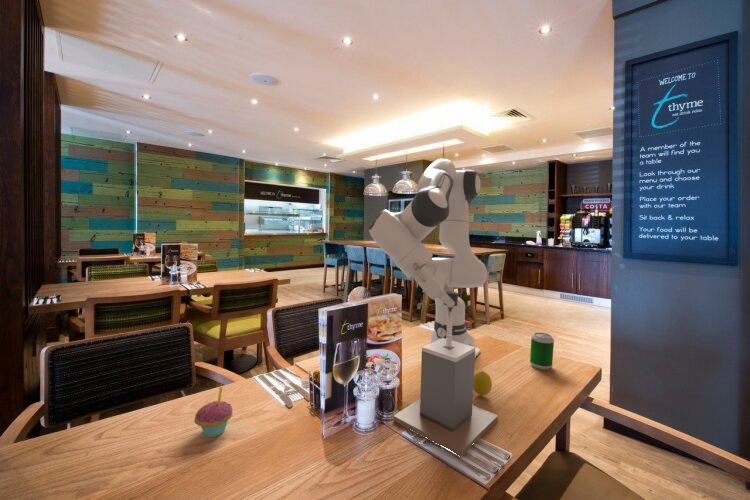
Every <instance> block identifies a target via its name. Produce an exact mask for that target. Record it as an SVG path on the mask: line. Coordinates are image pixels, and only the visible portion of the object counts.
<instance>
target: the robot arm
mask: <svg viewBox="0 0 750 500" xmlns="http://www.w3.org/2000/svg"><path fill="white" fill-rule="evenodd" d="M456 169H457V168H456V165H454V163H453V162H452V161H451V160H449V159H446V158H439V159H436V160H435V161H433V162H431V163H430V165H429V166H427V167H426V168H425V170H424V172H423V173H422V175H421V176H420V178H419V179H418V182H417V189H416V190H417V193H416V194H415V195H414V197H413V199H412V200H411V201H410V202H409V203H408V205H406V207H405V208H404V210H402V211H399V212H391V211H389V210H388V209H383V210H381V211H380V212H379V213H378V214H377V215H376V217H375V218H374V219H373V220H372V222H371V223H370V225H369V226H368V232H369V235H370V236H371V238H372V240H374V242H375V244H377V246H378V247H379V248H380V249H381V250H382V251H383V252H384V253H385V254H386V255H388V256H389V257H390V258H391V259H392V260H393V261H394V264H395V265H396V266H397V268H398V269H399V270H401V272H402V273H403V274H404V275H405V276H406V277H407V279H409V278H410V277H413V279H414V281H415V282H416V283H417V285H418V286H419V287H420V288H421V289H422V290H423V292H424V293H425V294H426V295H427V296H428V297H429V298H430V299H431V300H433V301H434V302H435V303H434V305H435V319H434V321H433V322H434V323H433V331H432V332H431V338H430V343H432V342H434V341H436V340H439V339H441V338H445V339H446V334H447V309H448V307H449V308H451V307H452V306H453V322H452V341H455V342H459V343H462V344H466V345H469V346H472V347H475V359H476V356H477V357H478V356H479V354H480V353H481V349H480V348H479V347H477V346H475V337H474V336H473V335H471V334H470V333H469V332H468V329H467V327H470V324H471V322H470V321H469V320H466V319H465V318H466V303H465V301H464V300H463V299H462V298H461V297H460V296H458V305H457V306H454V305H455V301H454V300H453V299H452V298H451V297H449V296H448V295H447V294H446V292H453V290H452V289H451V287H453V288H465V289H471V288H479V287H482V286H483V285H484V284H485V283H486V281H487V279H488V278H487V277H488V270H487V267H486V265H485V263H484V262H482V260H481V259H479V258H478V257H477V256H476V255H475V254H474V252H473V250H472V247H471V245H470V233H469V231H470V212H469V211H470V210H469V204H471V203H472V201H473V200H475V199H476V198H477V197H478V196H479V194H480V193H479V192H480V189H481V186H482V183H481V178H480V175H479V173H478V172H477V170H473V169H465V170H461V169H460V170H456ZM437 226H439V234H438V235H439V237H438V240H439V243H440V245H441V246H443V247H444V248H446V249H447V250H449V251H451V252H452V253H453V254H454V257H453V258H452V257H433V253H432V252H431V251H429V249H428V248H427V247H426V246H425V245H424V244H423V243H422V241H423V240H424V239H426V237H427V236H428V235H429V234H430V233H431V232H432V231H433V230H435V229H436V228H437ZM443 302H444V303H445V304H446V305H447V306H446V305H444V304H443Z"/></svg>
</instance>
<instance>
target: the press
mask: <svg viewBox="0 0 750 500" xmlns="http://www.w3.org/2000/svg"><path fill="white" fill-rule="evenodd" d="M475 347H476V346H475ZM475 347H472V346H469V345H466V344H462V343H459V342H455V341H452V346H451V350H450V349H446V339H445V338H441V339H439V340H436V341H434V342H432V343H431V342H430V343H428V344H426V345H423V346H422V347H421V365H420V369H421V370H420V395H419V399H417V400H415V401H414V402H413V403H411V404H409V405H408V406H407V407H405V408H403V409H402V410H400V411H399V412H396V413H395V414H394V415H393V417H392V421H393V422H394V423H396V424H397V425H400V427H403V428H405V429H407V428H408V429H407V430H409V429H411V430H413V431H415V432H416V433H418V434H421V435H422V436H424V437H427V438H428V439H430V440H431V441H434V442H435V443H437V444H439V445H442V446H444V447H446V448H448V449H450V450H451V451H453V452H454V453H456V454H457V455H459V456H460V457H461V456H462V455H463V454H464V453H465V452H466V451H467V450H468V449H469V448H470V447H471V446H472V444H473V443H475V442H476V441H477V440H478V439H479V440H480V439H481V438H482V437H483V436H484V435H485V434H486V433H487V432H489V430H490V429H492V427H494V425H495V424H496V423H498V421H499V420H498V419H499V417H498V416H499V415H497V414H495V413H494V412H493V413H492V412H490V411H487V410H486V409H483V408H481V407H478V406H476V405H474V404H473V401H474V388H473V384H474V376H475V364H476V363H475V361H476V358H475ZM411 430H410V431H411ZM416 433H415V434H416ZM418 434H417V435H418ZM479 440H478V441H479ZM431 441H430V442H431ZM478 441H477V442H478ZM477 442H476V443H477ZM476 443H475V444H476ZM472 447H473V446H472ZM472 447H471V448H472ZM471 448H470V449H471ZM470 449H469V450H470ZM469 450H468V451H469ZM468 451H467V452H468ZM467 452H466V453H467ZM466 453H465V454H466ZM465 454H464V455H465ZM464 455H463V456H464ZM463 456H462V457H463ZM460 457H459V458H460ZM462 457H461V458H462Z"/></svg>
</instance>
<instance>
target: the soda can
mask: <svg viewBox="0 0 750 500" xmlns="http://www.w3.org/2000/svg"><path fill="white" fill-rule="evenodd" d="M530 339H531V340H530V352H529V353H530V355H529V356H530V357H529V363H530V364H531V366H532V367H534V368H535V369H537V370H541V371H547V370H550V369H551V368H552V367H553V359H554V358H553V357H554V343H555V339H554V338H553V336H552V335H551V334H550V333H549V334H548V333H545V332H534V333H533V334H532V335H531V338H530Z"/></svg>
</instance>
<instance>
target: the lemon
mask: <svg viewBox="0 0 750 500" xmlns="http://www.w3.org/2000/svg"><path fill="white" fill-rule="evenodd" d="M492 385H493V384H492V379H491V377H490V375H489V374H488V373H487V372H485V371H483V370H481V371H478V372H475V373H474V384H473V391H474V392H475V393H476V395H477V394H478V395H479V396H480V397H484V396H487V395H489V393H490V392H491V390H492Z"/></svg>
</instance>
